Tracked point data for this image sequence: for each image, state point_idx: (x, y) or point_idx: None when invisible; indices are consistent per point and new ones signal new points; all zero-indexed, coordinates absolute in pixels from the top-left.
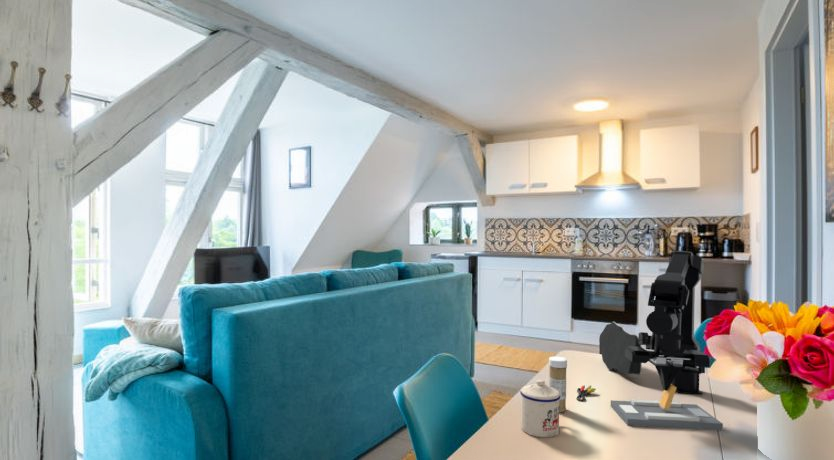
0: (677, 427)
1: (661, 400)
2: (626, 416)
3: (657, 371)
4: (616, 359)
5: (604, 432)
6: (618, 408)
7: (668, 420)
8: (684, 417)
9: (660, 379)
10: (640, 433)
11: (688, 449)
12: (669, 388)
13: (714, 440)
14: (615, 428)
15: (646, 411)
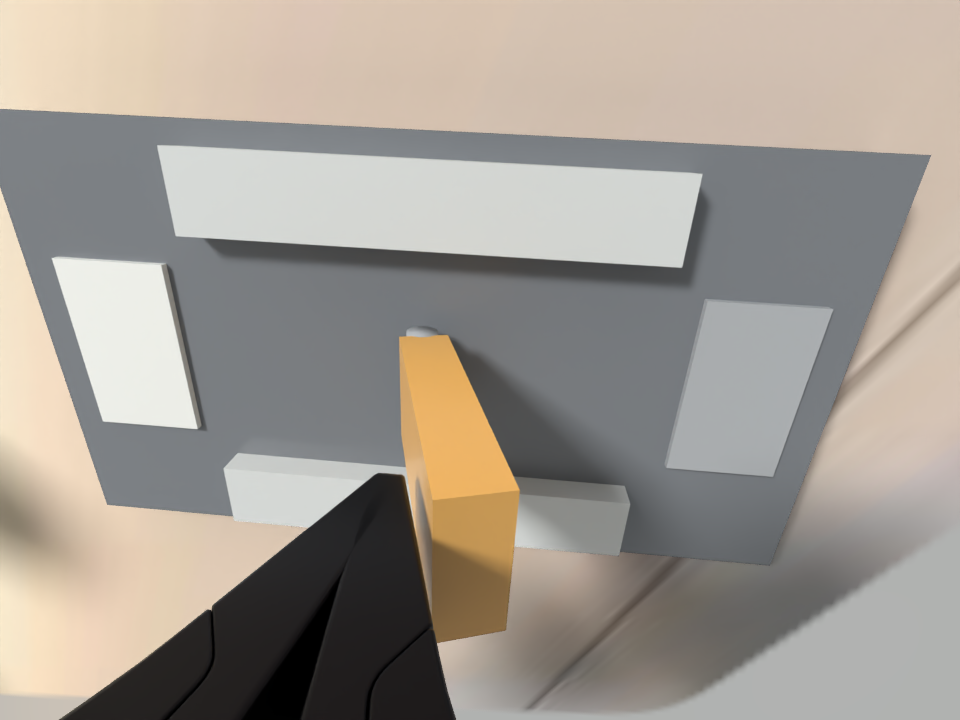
0: None
1: (404, 373)
2: (103, 469)
3: (95, 700)
4: None
5: (10, 551)
6: (50, 326)
7: None
8: None
9: (275, 567)
10: (200, 561)
11: None
12: (423, 566)
13: (581, 627)
14: (68, 510)
15: (275, 379)
